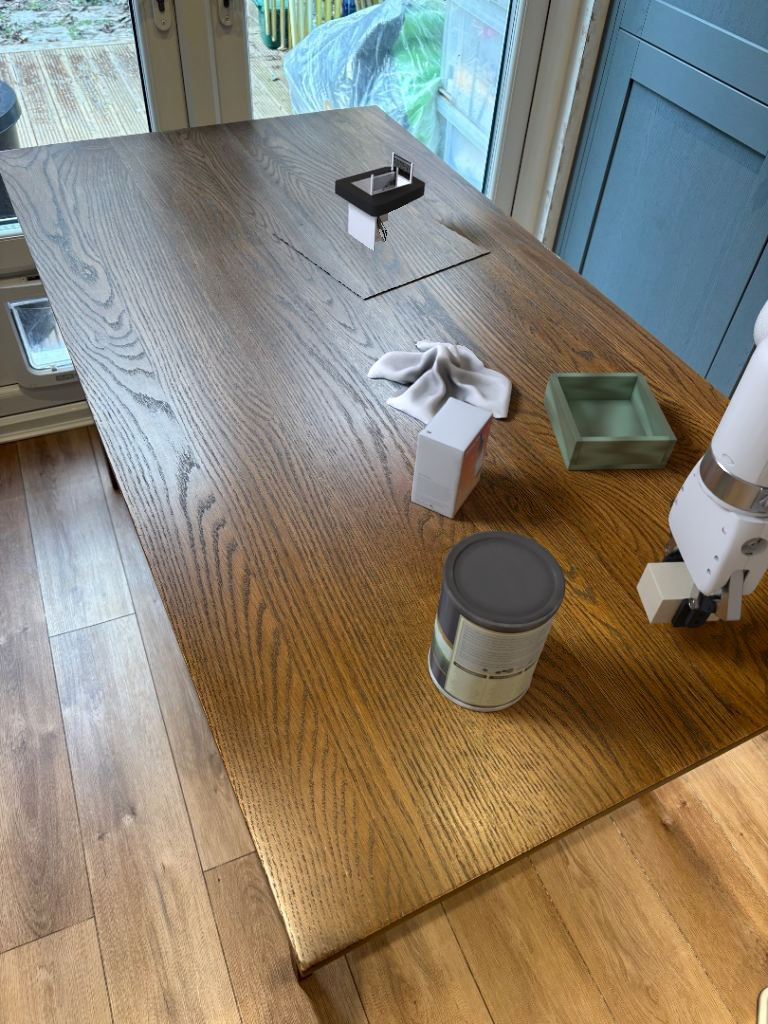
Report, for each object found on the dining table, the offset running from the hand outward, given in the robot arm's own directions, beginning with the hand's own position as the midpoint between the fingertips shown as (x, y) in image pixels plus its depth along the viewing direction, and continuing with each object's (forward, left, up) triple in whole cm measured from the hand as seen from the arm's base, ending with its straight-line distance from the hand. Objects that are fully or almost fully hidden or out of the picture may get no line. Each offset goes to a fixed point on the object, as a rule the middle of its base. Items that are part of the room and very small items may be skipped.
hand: (677, 601), depth 75 cm
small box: (+20, -20, -4) cm, 29 cm away
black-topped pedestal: (+23, -81, -4) cm, 84 cm away
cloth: (+18, -42, -4) cm, 46 cm away
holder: (-2, -30, -4) cm, 30 cm away
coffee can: (+20, +4, -4) cm, 21 cm away
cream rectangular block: (0, 0, 0) cm, 0 cm away
